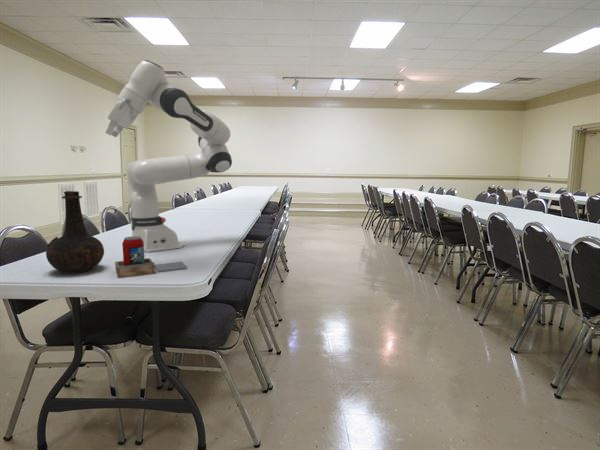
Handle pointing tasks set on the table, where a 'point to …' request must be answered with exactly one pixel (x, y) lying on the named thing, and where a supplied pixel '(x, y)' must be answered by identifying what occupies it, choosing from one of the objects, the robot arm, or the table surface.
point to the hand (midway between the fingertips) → (110, 135)
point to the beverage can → (133, 250)
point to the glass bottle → (74, 241)
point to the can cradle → (134, 268)
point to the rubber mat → (170, 266)
